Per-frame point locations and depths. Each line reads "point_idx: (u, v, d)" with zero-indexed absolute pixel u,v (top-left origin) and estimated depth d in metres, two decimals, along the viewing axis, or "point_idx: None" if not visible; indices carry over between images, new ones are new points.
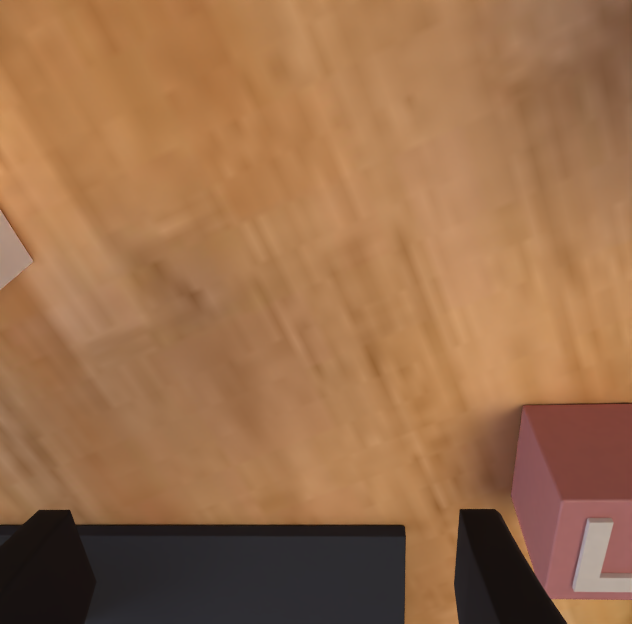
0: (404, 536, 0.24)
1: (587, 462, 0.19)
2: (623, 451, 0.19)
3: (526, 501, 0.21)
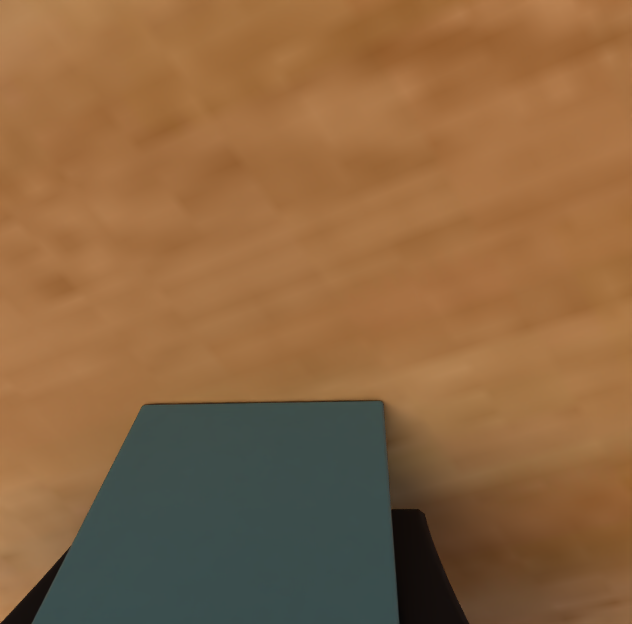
0: None
1: None
2: None
3: None
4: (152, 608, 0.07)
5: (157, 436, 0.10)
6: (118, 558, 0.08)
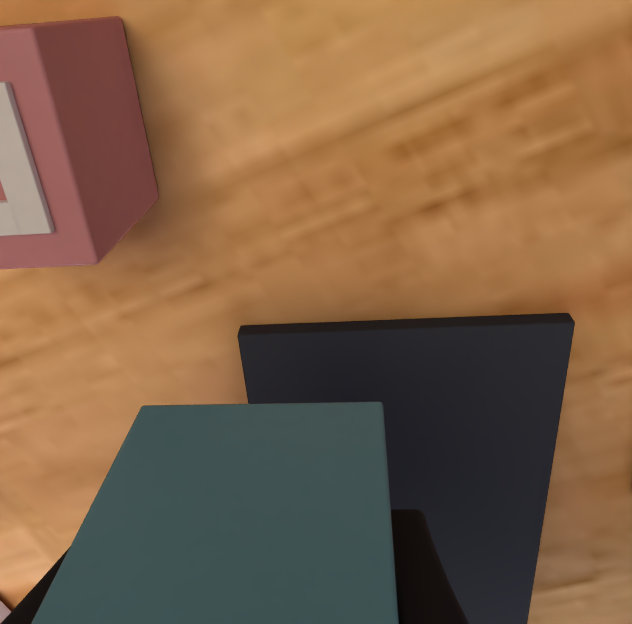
0: (238, 335, 0.18)
1: None
2: None
3: None
4: (150, 610, 0.07)
5: (156, 437, 0.10)
6: (117, 559, 0.08)
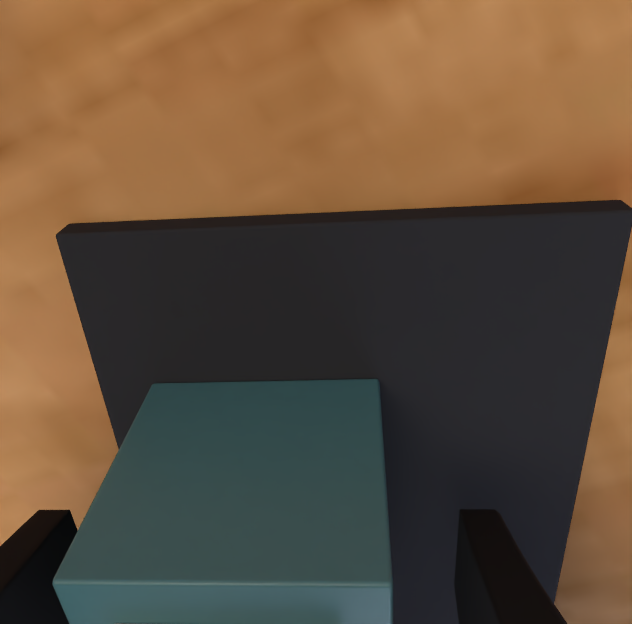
0: (58, 235, 0.10)
1: None
2: None
3: None
4: (165, 559, 0.08)
5: (167, 411, 0.11)
6: (134, 517, 0.09)
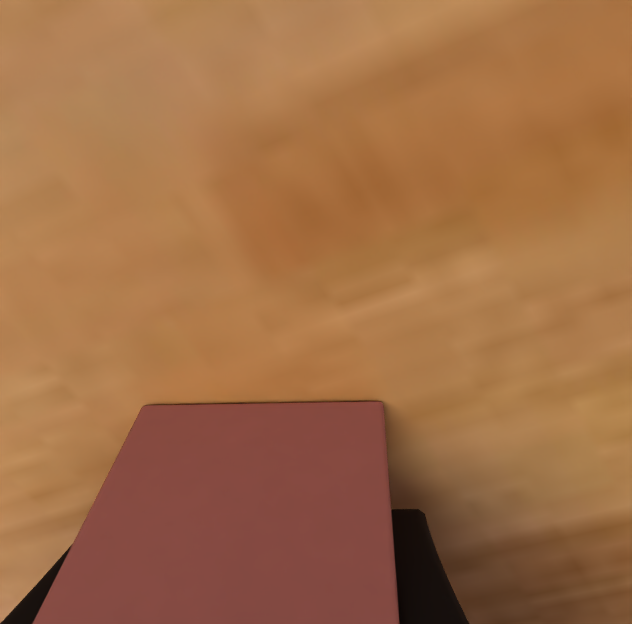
0: None
1: None
2: None
3: None
4: None
5: None
6: None
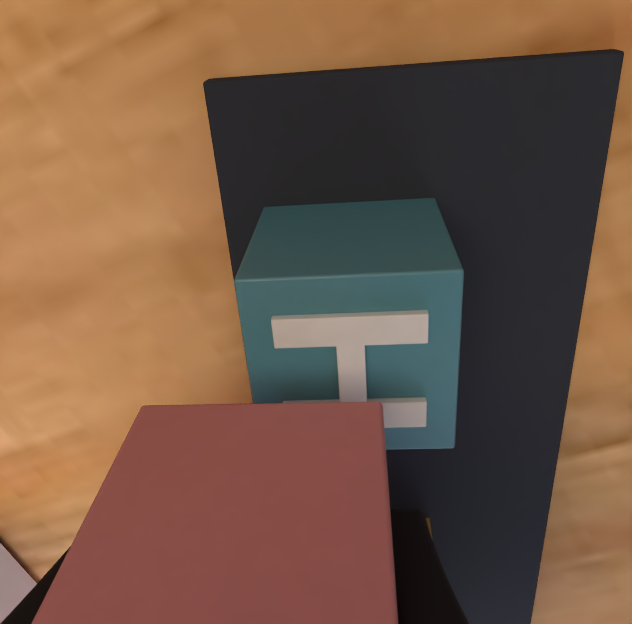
0: (205, 83, 0.14)
1: None
2: None
3: None
4: (308, 268, 0.12)
5: (281, 217, 0.15)
6: (278, 256, 0.13)
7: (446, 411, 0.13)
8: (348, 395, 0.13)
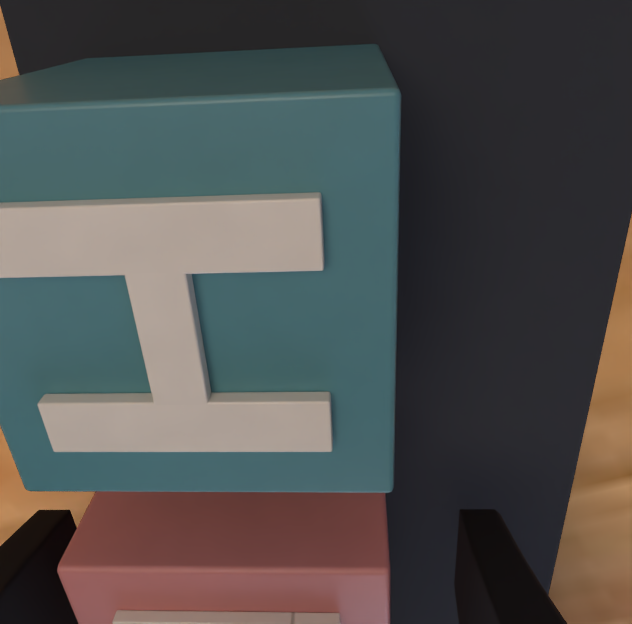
0: None
1: None
2: None
3: None
4: (57, 97, 0.05)
5: (97, 63, 0.08)
6: (23, 88, 0.06)
7: (374, 421, 0.06)
8: (167, 384, 0.06)
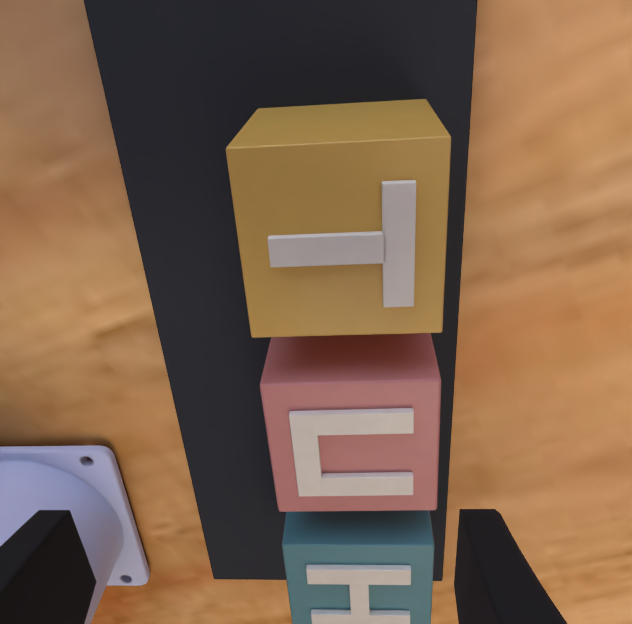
0: (441, 579, 0.25)
1: None
2: None
3: None
4: None
5: None
6: None
7: (292, 568, 0.18)
8: (362, 589, 0.18)
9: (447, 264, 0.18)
